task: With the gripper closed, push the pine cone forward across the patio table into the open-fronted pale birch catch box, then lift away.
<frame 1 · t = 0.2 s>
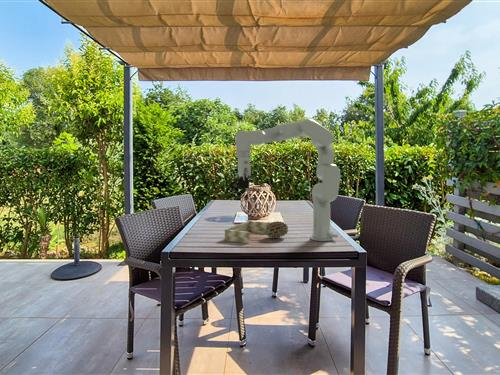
hand: (243, 187, 171), 31 cm above the table, tool pointing down, fingers open, 9 cm apart
catch box: (249, 236, 191), on the table
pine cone: (269, 238, 185), on the table
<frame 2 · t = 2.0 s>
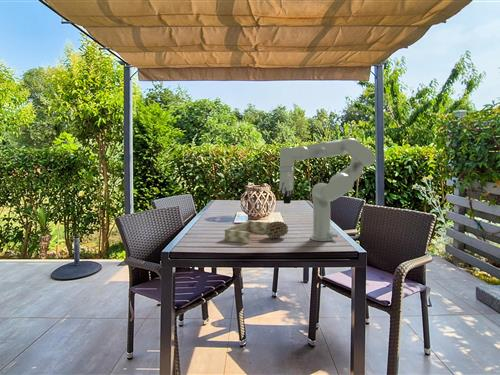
hand: (287, 203, 178), 21 cm above the table, tool pointing down, fingers closed
nothing on the table moved.
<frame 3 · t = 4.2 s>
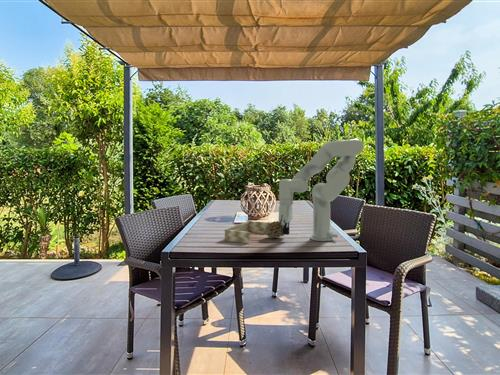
hand: (286, 234, 180), 4 cm above the table, tool pointing down, fingers closed
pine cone: (268, 238, 186), on the table, touching gripper
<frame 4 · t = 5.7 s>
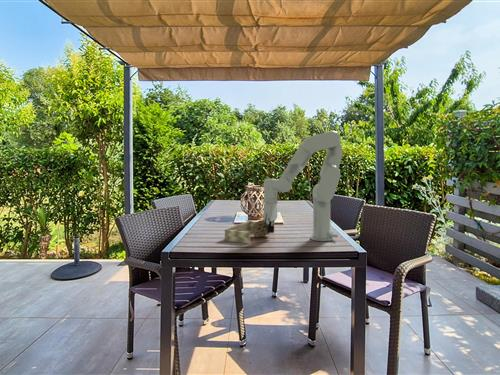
hand: (270, 232, 184), 4 cm above the table, tool pointing down, fingers closed
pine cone: (255, 237, 188), on the table, touching gripper
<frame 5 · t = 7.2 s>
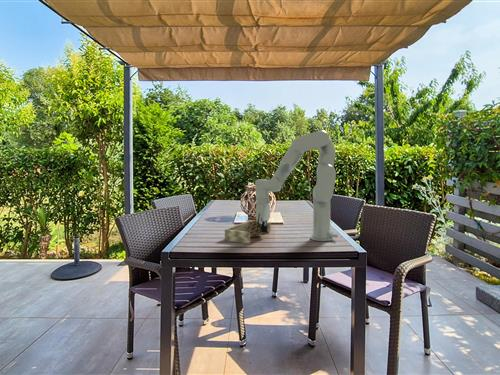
hand: (264, 232, 187), 3 cm above the table, tool pointing down, fingers closed
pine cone: (248, 237, 190), on the table, touching catch box, gripper
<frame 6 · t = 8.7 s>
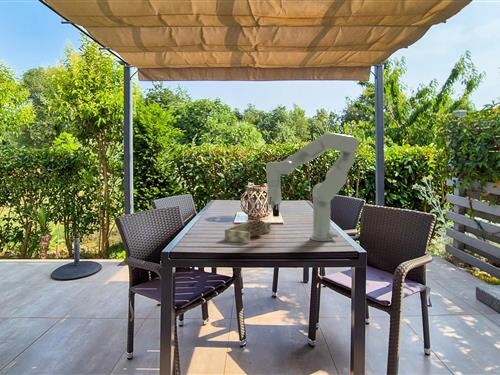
hand: (276, 216, 183), 13 cm above the table, tool pointing down, fingers closed
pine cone: (249, 237, 190), on the table
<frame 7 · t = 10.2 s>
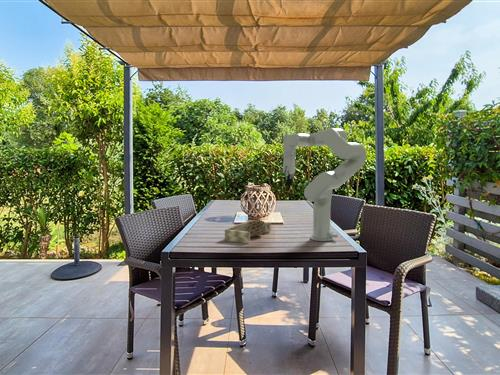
hand: (289, 185, 197), 29 cm above the table, tool pointing down, fingers closed
nothing on the table moved.
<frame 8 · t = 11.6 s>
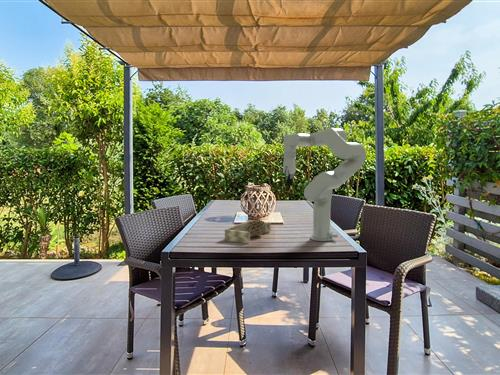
hand: (289, 185, 198), 29 cm above the table, tool pointing down, fingers closed
nothing on the table moved.
at the end: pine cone inside the target area on the catch box (2.1 cm from its centre), point 0.0 cm above the catch box's base; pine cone moved 12.4 cm from its start; the gripper is holding nothing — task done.
